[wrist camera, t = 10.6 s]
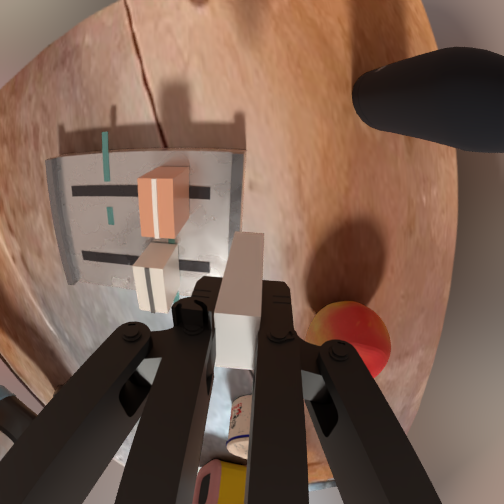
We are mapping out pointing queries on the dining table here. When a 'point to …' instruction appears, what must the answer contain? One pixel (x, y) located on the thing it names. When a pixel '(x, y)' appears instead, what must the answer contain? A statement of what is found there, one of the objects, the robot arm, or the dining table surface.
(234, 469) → the alarm clock
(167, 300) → the fader
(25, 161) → the dining table surface
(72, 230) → the console
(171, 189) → the fader
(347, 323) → the apple
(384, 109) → the black water bottle
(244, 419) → the teacup with lid
